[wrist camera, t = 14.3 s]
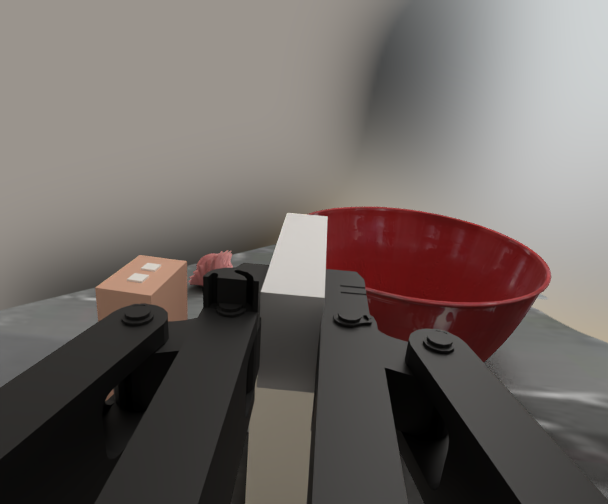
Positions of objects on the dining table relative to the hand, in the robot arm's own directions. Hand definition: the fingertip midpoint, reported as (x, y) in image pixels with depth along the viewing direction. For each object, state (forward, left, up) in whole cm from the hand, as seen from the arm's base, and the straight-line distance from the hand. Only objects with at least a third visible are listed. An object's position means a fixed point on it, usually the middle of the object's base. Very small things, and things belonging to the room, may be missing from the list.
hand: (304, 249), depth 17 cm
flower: (-30, -38, -25) cm, 55 cm away
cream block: (-10, -7, -25) cm, 28 cm away
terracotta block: (-10, -25, -25) cm, 37 cm away
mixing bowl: (-33, -9, -25) cm, 42 cm away
